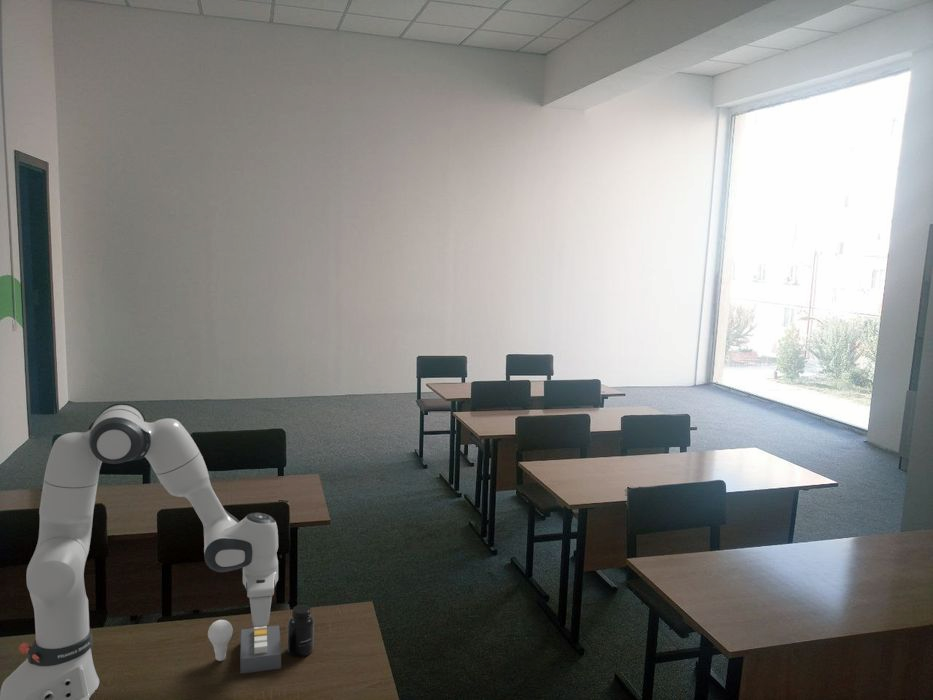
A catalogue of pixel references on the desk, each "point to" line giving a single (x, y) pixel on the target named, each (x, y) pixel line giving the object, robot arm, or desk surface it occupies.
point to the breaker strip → (260, 658)
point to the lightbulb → (220, 637)
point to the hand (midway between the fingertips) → (260, 624)
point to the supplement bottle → (300, 631)
